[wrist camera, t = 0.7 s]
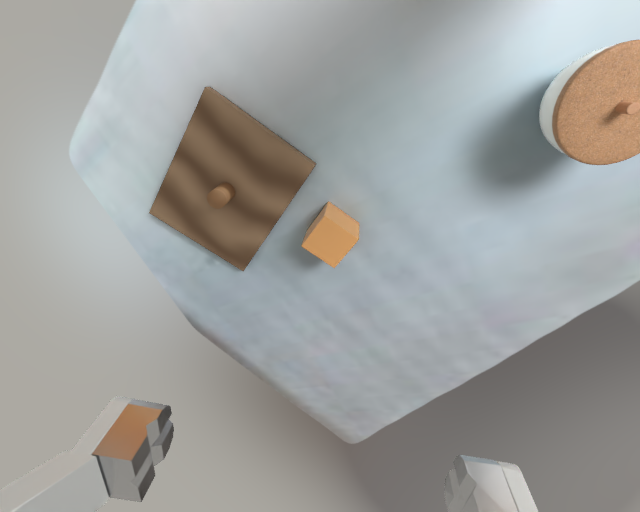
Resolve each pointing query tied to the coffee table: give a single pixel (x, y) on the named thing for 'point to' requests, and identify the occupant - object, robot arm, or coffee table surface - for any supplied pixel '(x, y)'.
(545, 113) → the lidded jar
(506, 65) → the coffee table surface
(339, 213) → the wooden toy cube
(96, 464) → the robot arm
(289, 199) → the post block
